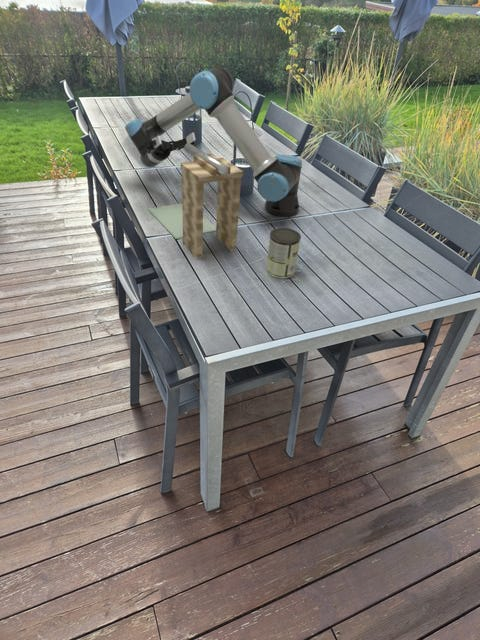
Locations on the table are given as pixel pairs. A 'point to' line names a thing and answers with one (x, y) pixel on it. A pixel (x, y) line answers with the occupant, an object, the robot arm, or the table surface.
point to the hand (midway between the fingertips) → (177, 137)
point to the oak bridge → (193, 202)
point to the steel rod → (206, 158)
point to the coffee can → (282, 252)
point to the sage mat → (176, 220)
